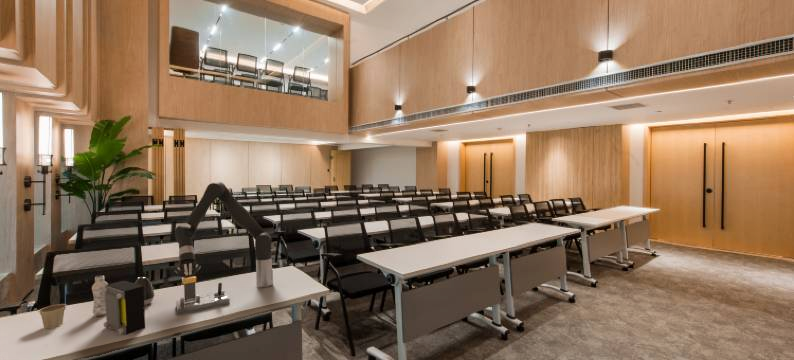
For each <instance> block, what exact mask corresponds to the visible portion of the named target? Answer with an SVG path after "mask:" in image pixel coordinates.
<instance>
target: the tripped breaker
mask: <svg viewBox="0 0 794 360" xmlns="http://www.w3.org/2000/svg"><path fill="white" fill-rule="evenodd" d="M196 283H197V276H196V275H193V276H192V277H188V278H185V277H182V284H183V291H184V294H183V295H184V296H183V297H184V299H185V302H190V301H195V300H196V295H197V293H196Z"/></svg>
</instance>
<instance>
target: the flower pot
mask: <svg viewBox="0 0 794 360" xmlns="http://www.w3.org/2000/svg"><path fill="white" fill-rule="evenodd" d="M66 308H67V304H66V303H61V304H59V303H58V304H54V305H53V304H52V305H49V306H46V307H43V308H40V309H39V310H38V313H39V314H40V316H41V321H42V325H43V328H44V329H47V328H48V329H53V327H54V328H56V327H59V325H60V326H62V325H63V324H64V315H65V310H66ZM61 324H62V325H61Z"/></svg>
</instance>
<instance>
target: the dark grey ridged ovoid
mask: <svg viewBox="0 0 794 360" xmlns="http://www.w3.org/2000/svg"><path fill="white" fill-rule="evenodd" d="M134 283H135V284H138V285H142V286H144V307H145V306H147V305H150V304H151V302H152V301H154V297H155V290H154V287H153V285H152V282H151V281H150V280H149V278H148V277H147V276H141V277H140V276H137V277H136V281H135V282H134Z"/></svg>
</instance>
